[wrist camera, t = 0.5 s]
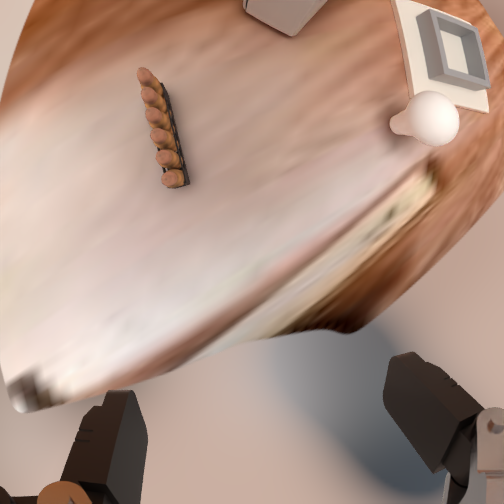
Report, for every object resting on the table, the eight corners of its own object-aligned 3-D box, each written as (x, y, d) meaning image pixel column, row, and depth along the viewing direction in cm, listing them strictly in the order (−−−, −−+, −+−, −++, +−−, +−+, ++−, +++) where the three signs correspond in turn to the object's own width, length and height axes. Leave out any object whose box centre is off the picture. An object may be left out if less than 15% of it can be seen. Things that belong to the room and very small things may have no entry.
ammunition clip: (151, 97, 31) (126, 62, 19) (167, 92, 31) (150, 54, 19) (173, 188, 34) (156, 195, 22) (190, 184, 34) (181, 188, 22)
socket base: (389, -2, 31) (406, -15, 26) (466, 25, 32) (484, 17, 28) (409, 98, 34) (430, 92, 30) (484, 113, 36) (504, 111, 32)
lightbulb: (385, 93, 34) (438, 73, 23) (419, 121, 35) (476, 112, 25) (366, 130, 35) (420, 119, 24) (402, 158, 36) (459, 157, 26)
